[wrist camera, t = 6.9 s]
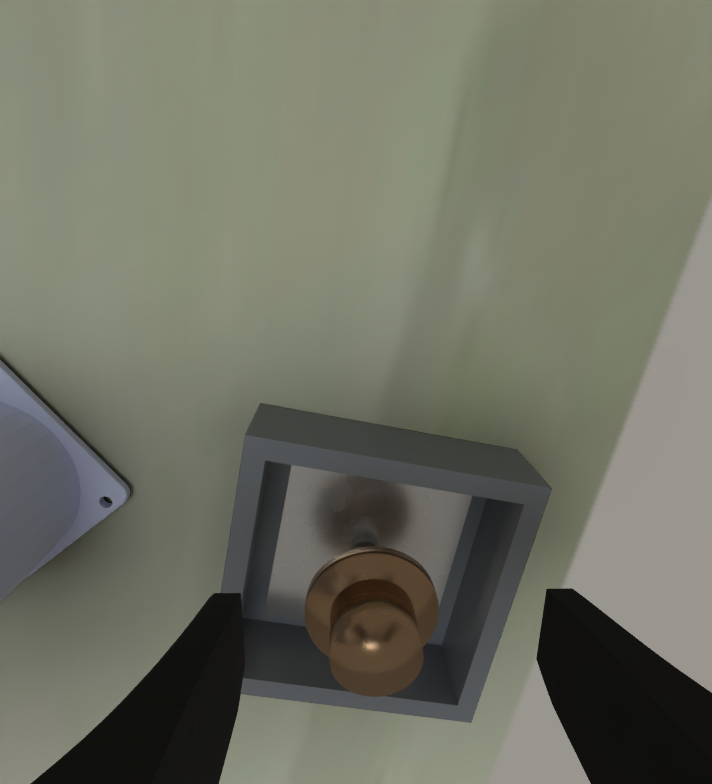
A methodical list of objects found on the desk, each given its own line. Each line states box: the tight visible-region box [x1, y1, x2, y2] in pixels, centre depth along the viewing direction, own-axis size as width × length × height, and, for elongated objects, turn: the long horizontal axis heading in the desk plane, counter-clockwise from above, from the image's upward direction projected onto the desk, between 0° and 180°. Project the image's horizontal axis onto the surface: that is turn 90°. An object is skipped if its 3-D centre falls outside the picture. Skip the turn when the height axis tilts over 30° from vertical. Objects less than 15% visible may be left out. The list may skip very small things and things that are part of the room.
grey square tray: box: [221, 404, 552, 723], centre depth 20 cm, size 11×11×4 cm
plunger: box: [264, 465, 472, 697], centre depth 19 cm, size 8×8×6 cm
